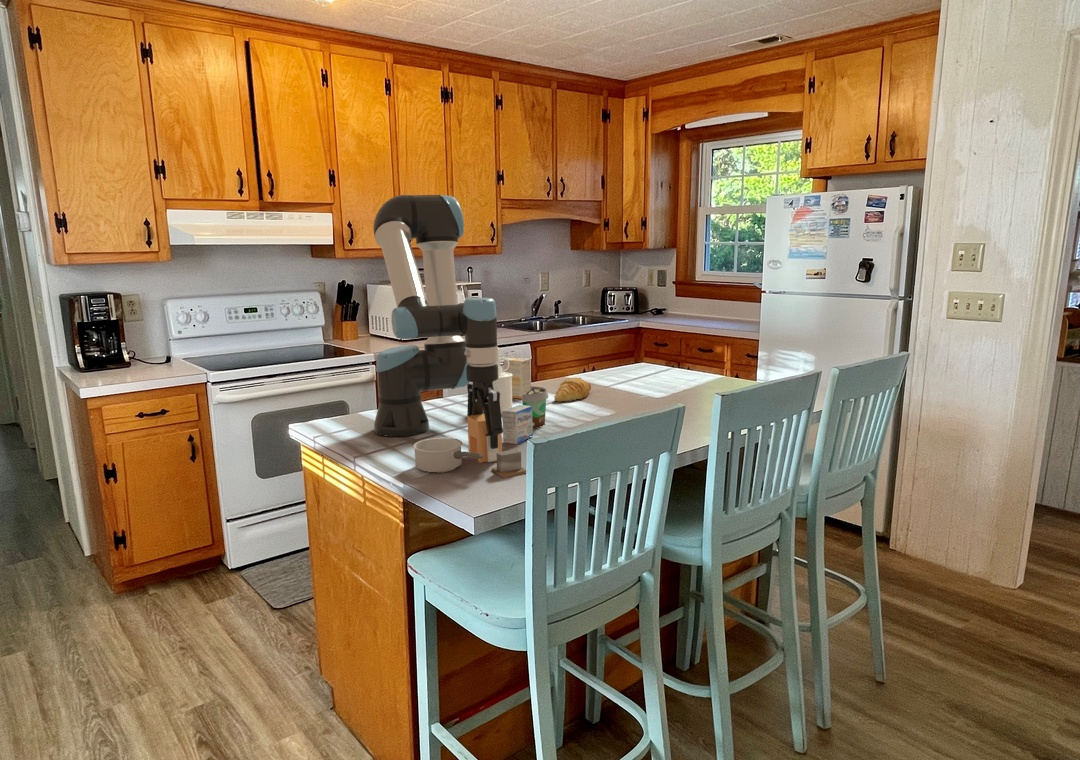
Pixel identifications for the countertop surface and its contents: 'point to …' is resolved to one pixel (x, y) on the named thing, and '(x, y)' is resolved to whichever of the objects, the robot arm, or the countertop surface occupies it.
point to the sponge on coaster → (509, 463)
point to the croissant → (572, 390)
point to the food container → (536, 404)
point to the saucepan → (440, 454)
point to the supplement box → (519, 375)
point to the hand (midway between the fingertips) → (485, 456)
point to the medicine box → (517, 424)
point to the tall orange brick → (479, 436)
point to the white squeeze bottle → (503, 386)
